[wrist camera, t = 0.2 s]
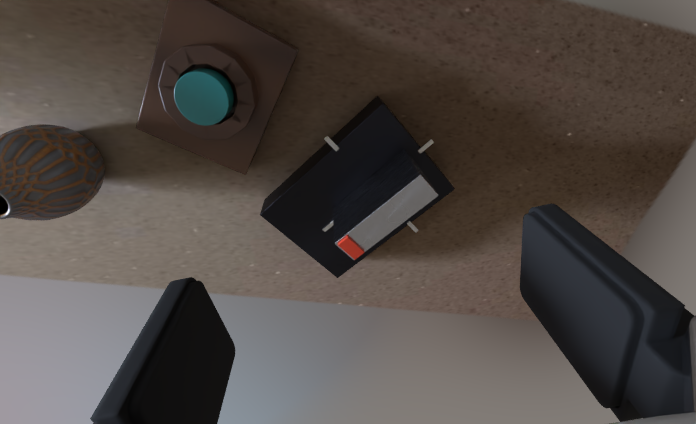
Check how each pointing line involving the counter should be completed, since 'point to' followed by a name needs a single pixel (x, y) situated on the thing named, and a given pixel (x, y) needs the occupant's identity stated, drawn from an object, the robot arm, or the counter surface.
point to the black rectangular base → (345, 183)
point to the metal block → (381, 204)
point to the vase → (47, 172)
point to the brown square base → (230, 61)
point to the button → (204, 96)
